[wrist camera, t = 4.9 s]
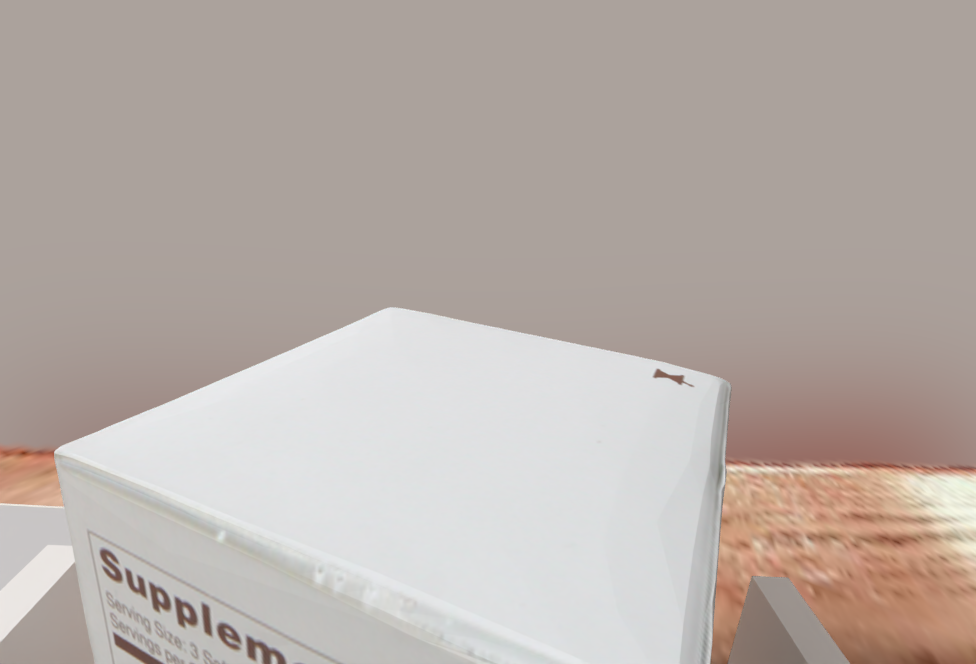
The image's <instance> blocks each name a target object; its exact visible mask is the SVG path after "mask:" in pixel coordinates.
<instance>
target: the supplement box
mask: <svg viewBox="0 0 976 664" xmlns="http://www.w3.org/2000/svg"><path fill="white" fill-rule="evenodd" d="M731 390H732V387H731V384H730V383H729V382H727V381H725V380H723V379H721V378H719V377H715V376H712V375H709V374H706V373H702V372H698V371H694V370H691V369H686V368H683V367H679V366H676V365H672V364H668V363H664V362H660V361H655V360H651V359H646V358H641V357H637V356H632V355H627V354H622V353H617V352H613V351H608V350H603V349H598V348H593V347H588V346H583V345H579V344H574V343H569V342H564V341H559V340H554V339H549V338H545V337H540V336H535V335H530V334H525V333H520V332H515V331H510V330H505V329H500V328H496V327H491V326H486V325H481V324H476V323H471V322H466V321H462V320H457V319H452V318H448V317H444V316H439V315H435V314H429V313H424V312H418V311H413V310H408V309H402V308H394V307H391V308H386V309H384V310H381V311H379V312H376V313H374V314H372V315H370V316H368V317H365V318H363V319H361V320H359V321H357V322H355V323H352V324H350V325H348V326H345V327H344V328H341V329H339V330H336V331H334V332H332V333H329V334H327V335H325V336H322V337H320V338H318V339H315V340H313V341H311V342H309V343H306V344H304V345H301V346H299V347H297V348H294V349H292V350H290V351H288V352H285V353H283V354H280V355H278V356H276V357H274V358H271V359H269V360H266V361H264V362H262V363H259V364H257V365H255V366H253V367H250V368H248V369H245V370H243V371H241V372H238V373H236V374H234V375H231V376H229V377H227V378H224V379H222V380H219V381H217V382H215V383H213V384H210V385H208V386H205V387H203V388H201V389H198V390H196V391H194V392H191V393H189V394H187V395H184V396H182V397H180V398H177V399H175V400H173V401H170V402H168V403H166V404H163V405H161V406H158V407H156V408H153V409H151V410H148V411H145V412H143V413H141V414H139V415H136V416H134V417H131V418H129V419H126V420H124V421H121V422H119V423H117V424H114V425H112V426H110V427H107V428H105V429H102V430H100V431H98V432H95V433H93V434H90V435H88V436H85V437H83V438H80V439H78V440H75V441H72V442H70V443H67V444H65V445H62V446H60V447H59V448H58V449H57V450H56V451H55V452H54V458H55V463H56V468H57V472H58V477H59V482H60V488H61V493H62V498H63V503H64V508H65V513H66V518H67V523H68V528H69V533H70V538H71V542H72V548H73V553H74V559H75V564H76V570H77V576H78V581H79V587H80V592H81V597H82V603H83V608H84V613H85V619H86V624H87V629H88V634H89V639H90V644H91V648H92V653H93V657H94V662H95V664H711V651H712V637H713V622H714V609H715V595H716V582H717V568H718V554H719V541H720V529H721V517H722V505H723V497H724V490H725V482H726V473H727V471H726V465H725V456H726V443H727V430H728V420H729V408H730V398H731Z"/></svg>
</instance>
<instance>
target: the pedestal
mask: <svg viewBox="0 0 976 664" xmlns="http://www.w3.org/2000/svg"><path fill="white" fill-rule="evenodd" d="M47 545H65V546H72V542H71V538H70V533H69V528H68V523H67V518H66V513H65V508H64V507H57V506H39V505H21V504H2V503H0V591H1V590H2V589H3V588H4V587H5V586H6V585H7V584H8V583H9V582H10V581H11V580H12V579H13V578H14V577H15V576H16V575H17V574H18V573H19V572H20V571H21V570H22V569H23V568H24V567H25V566H26V565H27V564H28V563H29V562H30V561H31V560H32V559H34V558H35V557H36V556H37V555H38V554H39V553H40V552H41V551H42V550H43V549H44V548H45V547H46V546H47Z"/></svg>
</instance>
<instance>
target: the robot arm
mask: <svg viewBox="0 0 976 664" xmlns="http://www.w3.org/2000/svg"><path fill="white" fill-rule="evenodd" d="M0 664H95V662H94V657H93V653H92V648H91V644H90V639H89V634H88V629H87V624H86V619H85V613H84V608H83V603H82V597H81V592H80V587H79V581H78V576H77V570H76V564H75V559H74V553H73V548H72V546H65V545H47V546H46V547H45V548H44V549H43V550H42V551H41V552H40V553H39V554H38V555H37V556H36V557H35V558H34V559H32V560H31V561H30V562H29V563H28V564H27V565H26V566H25V567H24V568H23V569H22V570H21V571H20V572H19V573H18V574H17V575H16V576H15V577H14V578H13V579H12V580H11V581H10V582H9V583H8V584H7V585H6V586H5V587H4V588H3V589H2V590H1V591H0ZM728 664H850V663H849V661H848V660H847V659H846V657H845V656H844V654H843V653H842V652H841V650H840V649H839V648H838V646H837V645H836V643H835V642H834V641H833V639H832V638H831V636H830V635H829V634H828V632H827V631H826V629H825V628H824V627H823V625H822V624H821V623H820V621H819V620H818V618H817V617H816V616H815V614H814V613H813V611H812V610H811V609H810V607H809V606H808V604H807V603H806V602H805V600H804V599H803V597H802V596H801V595H800V593H799V592H798V591H797V589H796V588H795V586H794V585H793V584H792V582H791V581H790V579H789V578H785V577H762V576H752V578H751V581H750V585H749V589H748V592H747V596H746V599H745V603H744V606H743V610H742V614H741V617H740V621H739V624H738V628H737V631H736V635H735V639H734V642H733V646H732V649H731V653H730V656H729V660H728Z"/></svg>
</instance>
